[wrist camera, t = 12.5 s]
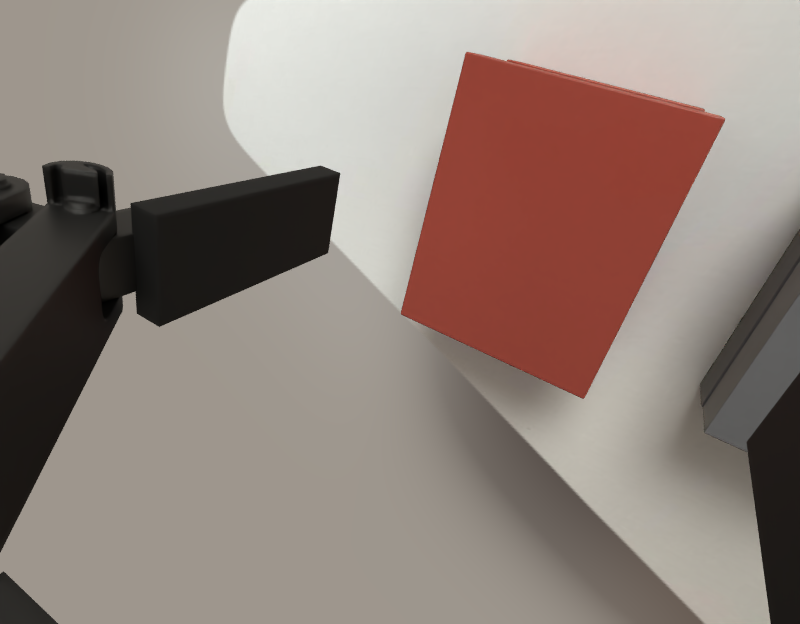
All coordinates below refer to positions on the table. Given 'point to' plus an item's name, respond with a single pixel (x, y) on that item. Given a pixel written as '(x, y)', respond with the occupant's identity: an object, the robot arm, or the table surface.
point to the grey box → (756, 357)
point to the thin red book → (549, 215)
